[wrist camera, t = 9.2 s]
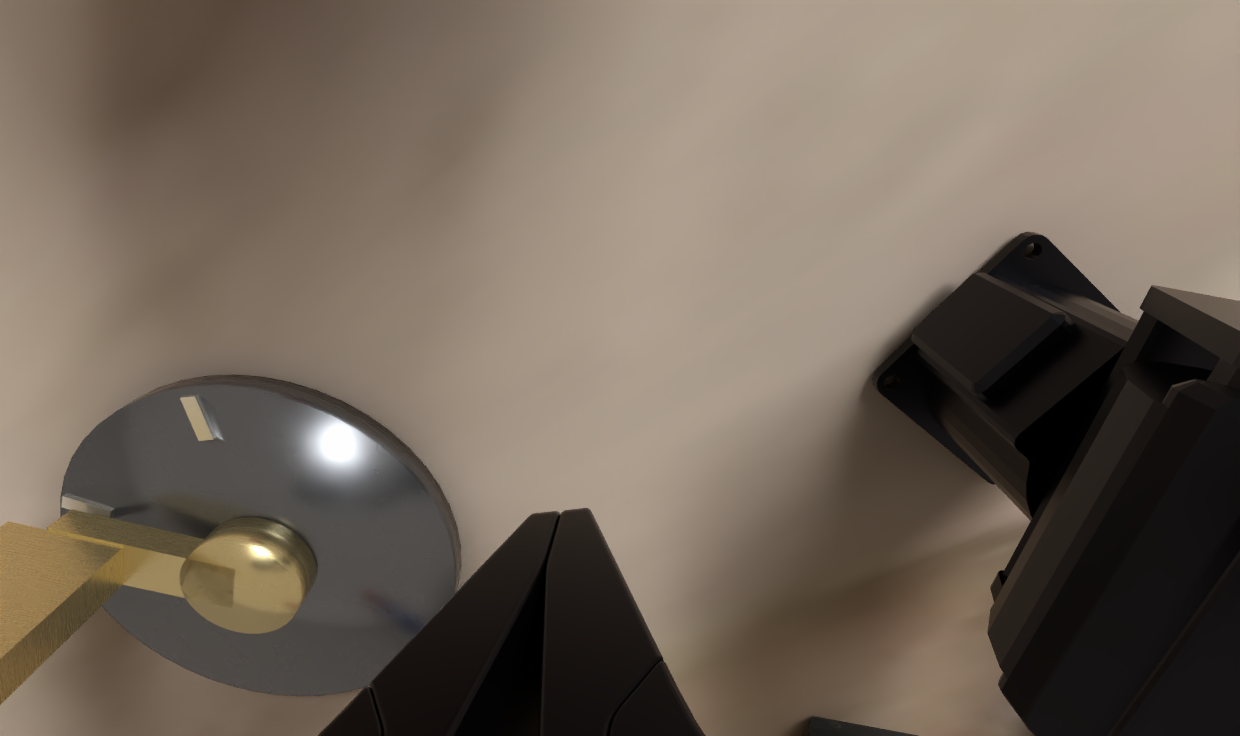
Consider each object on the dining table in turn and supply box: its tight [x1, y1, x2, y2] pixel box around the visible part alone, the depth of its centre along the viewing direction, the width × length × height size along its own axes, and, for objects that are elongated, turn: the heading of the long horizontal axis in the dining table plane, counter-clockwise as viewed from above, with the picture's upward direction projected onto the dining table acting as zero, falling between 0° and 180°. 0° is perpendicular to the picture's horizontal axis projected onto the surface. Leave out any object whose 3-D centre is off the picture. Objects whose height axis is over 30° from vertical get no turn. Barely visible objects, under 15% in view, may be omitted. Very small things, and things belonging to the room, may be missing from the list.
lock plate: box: [61, 375, 461, 696], centre depth 23 cm, size 14×14×1 cm
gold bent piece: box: [0, 509, 317, 705], centre depth 18 cm, size 9×4×9 cm, turn 74°
